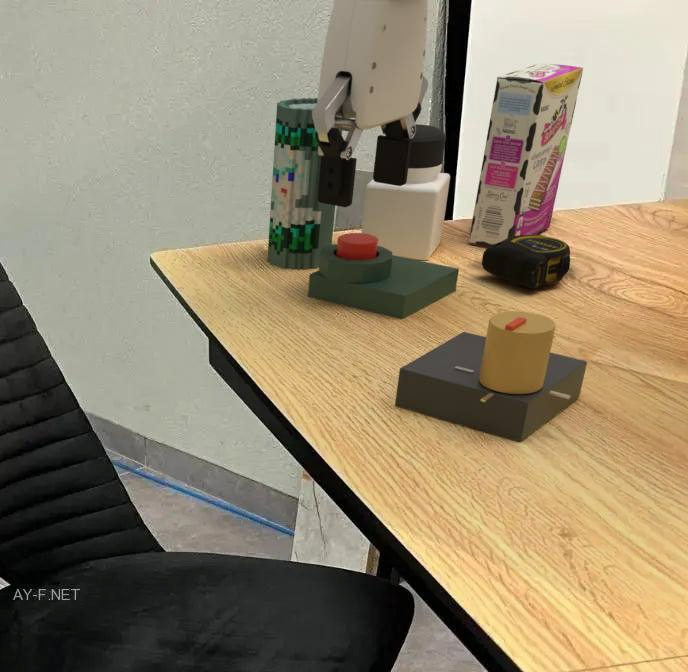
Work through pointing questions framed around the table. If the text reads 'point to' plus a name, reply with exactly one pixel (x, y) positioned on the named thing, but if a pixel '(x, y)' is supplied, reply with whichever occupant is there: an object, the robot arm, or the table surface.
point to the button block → (381, 282)
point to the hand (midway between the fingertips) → (362, 193)
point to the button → (357, 246)
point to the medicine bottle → (411, 201)
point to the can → (297, 191)
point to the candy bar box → (524, 152)
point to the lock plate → (484, 390)
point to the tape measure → (528, 260)
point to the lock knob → (516, 352)
